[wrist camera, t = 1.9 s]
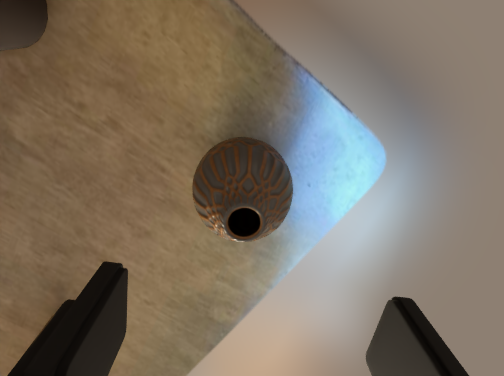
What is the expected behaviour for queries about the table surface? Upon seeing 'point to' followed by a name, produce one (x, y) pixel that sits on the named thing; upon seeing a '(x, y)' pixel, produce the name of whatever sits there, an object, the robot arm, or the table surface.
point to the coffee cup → (21, 22)
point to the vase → (242, 189)
